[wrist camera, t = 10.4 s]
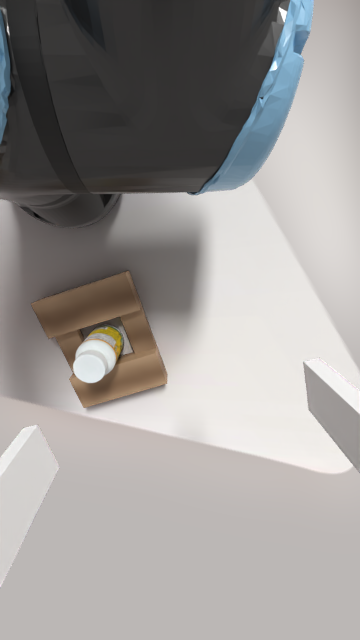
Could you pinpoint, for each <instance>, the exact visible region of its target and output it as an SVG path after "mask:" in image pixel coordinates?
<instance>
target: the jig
mask: <svg viewBox="0 0 360 640" xmlns="http://www.w3.org/2000/svg"><path fill="white" fill-rule="evenodd" d="M31 306H32V308H33V310H34V312H35V314H36V315H37V317H38V319H39V321H40V323H41V325H42V327H43V329H44V331H45V333H46V335H47V337H48V339H50V338H53V337H55V338H56V340H57V342H58V344H59V346H60V348H61V350H62V352H63V354H64V356H65V358H66V360H67V362H68V364H69V366H70V368H71V370H72V372H73V375H72V376H71V377H70V379H69V380H70V382H71V384H72V386H73V388H74V390H75V392H76V394H77V396H78V398H79V399H80V401H81V403H82V405H83V407H84V408H86V407H89V406H92V405H96V404H99V403H103V402H106V401H109V400H113V399H116V398H120V397H123V396H126V395H130V394H133V393H137V392H140V391H143V390H147V389H150V388H154V387H157V386H160V385H164V384H167V372H166V369H165V366H164V364H163V361H162V358H161V355H160V353H159V350H158V347H157V345H156V342H155V339H154V337H153V334H152V331H151V329H150V326H149V323H148V321H147V318H146V315H145V312H144V310H143V307H142V304H141V302H140V299H139V296H138V294H137V291H136V288H135V286H134V283H133V280H132V278H131V275H130V272H129V271H125V272H122V273H119V274H116V275H113V276H110V277H107V278H104V279H101V280H98V281H95V282H92V283H89V284H86V285H83V286H79V287H76V288H73V289H70V290H67V291H64V292H61V293H58V294H55V295H52V296H49V297H46V298H43V299H40V300H38V301H36V302H34V303H31ZM116 317H120V318H121V321H122V323H123V326H124V328H125V331H126V333H127V336H128V338H129V341H130V343H131V345H132V348H133V350H134V352H132V353H129V354H126V355H123V356H119V357H118V359H117V361H116V364H115V366H114V368H113V369H112V370H111V371H110V372H109V373H108V374H106V375H104V377H103V378H102V379H101V380H99V381H98V382H95V383H86V382H83V381H81V380H80V379H78V378H77V377H76V375H75V374H74V371H73V364H74V361H75V355H76V351H77V349H78V348H79V346H80V345H81V344H82V343H83V341H84V340H85V339H84V337H83V335H82V333H81V331H80V329H81V328H85V327H88V326H91V325H94V324H97V323H100V322H104V321H107V320H110V319H113V318H116Z"/></svg>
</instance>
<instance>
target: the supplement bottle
mask: <svg viewBox="0 0 360 640" xmlns="http://www.w3.org/2000/svg"><path fill="white" fill-rule="evenodd" d="M123 345H124V339H123V335H122V333H121V331H120V330H119V329H117V328H116V327H114V326H112V325H100V326H98V327H96V328H95V329H94V330H93V331H92V332H91V333H90V334H89V336H88V337H87V338H86V339H85V340H84V341H83V343H82V344H81V345H80V346H79V348H78V349H77V351H76V355H75V361H74V364H73V371H74V374H75V375H76V377H77V378H78V379H80V380H81V381H83V382H86V383H95V382H98V381H99V380H101V379H102V378H103V377H104V375H106V374H108V373H109V372H110V371H111V370H112V369H113V368H114V366H115V364H116V361H117V359H118V357H119V355H120V352H121V350H122V348H123Z"/></svg>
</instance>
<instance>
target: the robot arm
mask: <svg viewBox="0 0 360 640" xmlns="http://www.w3.org/2000/svg"><path fill="white" fill-rule="evenodd" d="M313 5H314V0H0V199H3V200H7V201H12V202H16V203H17V204H18V205H19V206H20V207H21V208H22V209H23V210H24V211H26V212H27V213H28V214H30V215H31V216H33V217H34V218H36V219H38V220H40V221H42V222H44V223H47V224H50V225H54V226H58V227H67V228H78V227H84V226H88V225H91V224H93V223H95V222H97V221H99V220H100V219H102V218H103V217H104V216H105V215H106V214H107V213H108V212H109V211H110V210H111V209H112V208H113V206H114V205H115V203H116V201H117V199H118V197H119V195H120V194H125V193H174V192H187V193H188V194H190V195H198V194H203V193H204V192H209V191H224V190H232V189H235V188H237V187H239V186H242V185H244V184H245V183H247V182H248V181H249V180H251V179H252V178H253V177H254V176H255V174H256V173H257V172H258V171H259V170H260V168H261V167H262V165H263V164H264V163H265V161H266V160H267V158H268V156H269V155H270V153H271V151H272V149H273V147H274V145H275V143H276V141H277V139H278V137H279V135H280V132H281V130H282V128H283V126H284V123H285V121H286V118H287V115H288V113H289V111H290V108H291V105H292V102H293V99H294V96H295V93H296V90H297V87H298V83H299V79H300V76H301V72H302V68H303V64H304V59H303V57H302V56H301V52H302V50H303V47H304V45H305V43H306V41H307V38H308V36H309V34H310V30H311V23H312V15H313ZM303 364H304V373H305V382H306V390H307V399H308V408H309V411H310V412H311V413H312V414H313V416H314V417H315V418H316V419H317V421H318V422H319V423H320V424H321V426H322V427H323V428H324V429H325V431H326V432H327V433H328V434H329V436H330V437H331V438H332V439H333V441H334V442H335V443H336V444H337V446H338V447H339V448H340V449H341V451H342V452H343V453H344V454H345V456H346V457H347V458H348V459H349V461H350V462H351V463H352V464H353V466H354V467H355V468H356V469H357V470H358V472H359V473H360V390H359V389H358V388H357V387H355V386H354V385H353V384H352V383H350V382H349V381H348V380H347V379H345V378H344V377H343V376H342V375H340V374H339V373H338V372H337V371H335V370H334V369H333V368H332V367H330V366H329V365H328V364H327V363H325V362H324V361H323V360H322V359H320V358H316V359H312V360H308V361H304V362H303ZM58 469H59V464H58V462H57V461H56V458H55V456H54V455H53V452H52V451H51V449H50V447H49V445H48V443H47V441H46V439H45V437H44V435H43V433H42V431H41V429H40V427H39V425H34V426H30V427H25V428H23V429H22V430H21V432H20V433H19V434H18V435H17V437H16V438H15V439H14V441H13V442H12V443H11V444H10V446H9V447H8V448H7V450H6V451H5V452H4V453H3V455H2V456H1V457H0V587H1V585H2V583H3V581H4V579H5V577H6V575H7V573H8V571H9V569H10V567H11V565H12V563H13V561H14V559H15V557H16V555H17V553H18V551H19V549H20V547H21V545H22V543H23V540H24V539H25V536H26V534H27V532H28V530H29V528H30V526H31V524H32V522H33V520H34V518H35V516H36V513H37V512H38V510H39V508H40V506H41V504H42V502H43V500H44V497H45V496H46V494H47V491H48V489H49V487H50V485H51V483H52V481H53V479H54V477H55V475H56V473H57V471H58Z"/></svg>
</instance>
